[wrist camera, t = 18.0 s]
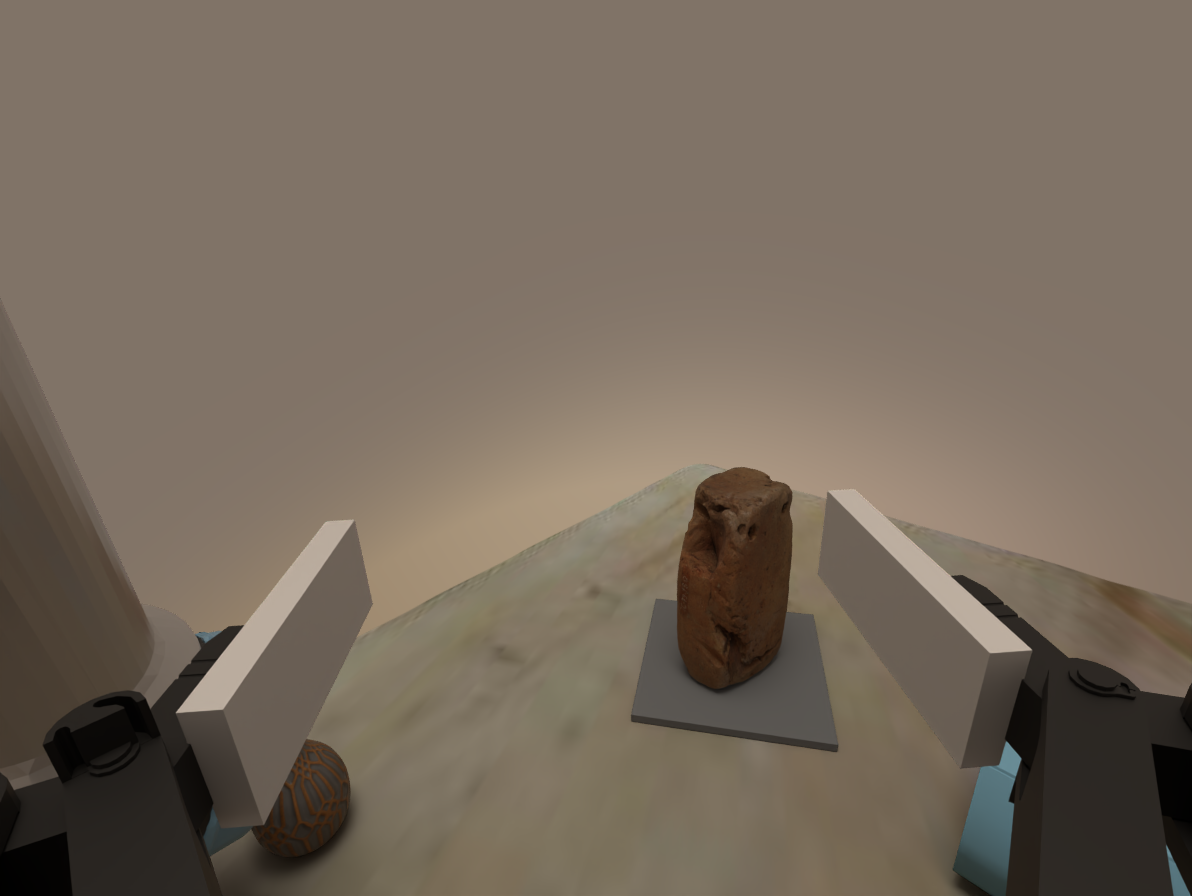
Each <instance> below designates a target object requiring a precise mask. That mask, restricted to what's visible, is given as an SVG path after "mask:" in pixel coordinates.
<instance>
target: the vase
mask: <svg viewBox="0 0 1192 896" xmlns="http://www.w3.org/2000/svg"><path fill="white" fill-rule="evenodd" d="M349 801H350V781H349V776H348V772H347V769H346V766H345V764H344V762H343V761H342V759H341V758H340V756H339V755H338V754H337V753H336V752H335V751H334V750H333V749H332V748H331V747H329V746H328V745H326V744H324V743H321V742H318V741H314V740H309V739H306V740H305V742H304V745H303V747H302V749H301V751H300V753H299V755H298V757H297V759H296V761H295V763H294V765H293V767H292V769H291V771H290V773H289V775H288V777H287V779H286V781H285V783H284V785H283V787H282V789H281V791H280V793H279V795H278V797H277V799H276V801H275V803H274V805H273V807H272V809H271V812H270V814H269V816H268V818H267V820H266V822H265V824H264V825H258V826H253V827H252V832H253V834H254V835H255V837H256V839H257V840H258V842H259V843H260V844H261V845H262V846H263V847H264V848H265V849H267V850H268V851H270V852H271V853H274V854H276V855H278V856H283V857H296V856H301V855H305V854H308V853H310V852H312V851H314V850H316V849H318V848H319V847H321V846H322V845H324V844H325V843H326V842H327V841H328V840H329V839H330V838H331V837H332V836H333V835H334V834H335V833H336V831H337V830H338V829H339V827H340V826H341V824H342V822H343V820H344V818H345V816H346V813H347V810H348V806H349Z"/></svg>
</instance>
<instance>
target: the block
mask: <svg viewBox="0 0 1192 896" xmlns="http://www.w3.org/2000/svg"><path fill="white" fill-rule="evenodd" d="M791 502H792V491H791V489H790V487H789V486H788V485H786V484H784V483H781V482H777V481H776V482H775V481H772V480H771V479H770V477H769V476H768V475H767V474H765V473H763V472H761V471H758V470H755V469H750V468H745V467H740V468H739V467H738V468H733V469H730V470H727V471H725V472H723V473H719V474H715V475H712V476H710V477H709V478H707V479H706V480H704V481H703V482H702V483H701V484H700V485H699V486H698V488H697V490H696V494H695V500H694V510H693V517H692V519H691V521H690V522H689V524H688V531H687V532H686V533H685V538H684V542H683V547H682V551H681V556H680V562H679V570H678V580H677V639H678V647H679V651H680V654H681V657H682V659H683V661H684V663H685V665H686V667H687V670H688V672H689V674H690V676H692V677H693V678H694V679H695V680H697V681H698V682H700V683H702V684H704V685H706V686H708V687H710V688H714V689H719V688H724V687H726V686H728V685H732V684H735V683H738V682H743V681H745V680H747V679H748V678H750V677H751V676H753V675H754V674H756V673H757V672H759V671H761V670H762V669H763V668H764V667H766V666H767V665H768V664H769V663H770V661H771V660H772V659H773V658H774V656H775V655H776V654H777V652H778V651H779V649H780V646H781V642H782V636H783V630H784V624H785V618H786V612H787V602H788V593H789V577H790V568H791V557H792V520H791V517H790V512H789V511H790V505H791Z"/></svg>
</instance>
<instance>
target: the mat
mask: <svg viewBox="0 0 1192 896" xmlns="http://www.w3.org/2000/svg"><path fill="white" fill-rule="evenodd" d="M631 721H633V722H640V723H647V724H653V725H660V726H667V727H674V728H680V729H687V730H694V731H700V732H707V733H714V734H721V735H727V736H734V737H741V738H747V739H754V740H761V741H768V742H774V743H781V744H788V745H794V746H801V747H808V748H815V749H821V750H828V751H835V752H837V749H838V742H837V736H836V731H835V726H834V721H833V715H832V710H831V705H830V700H829V694H828V689H827V684H826V679H825V674H824V668H823V663H822V658H821V653H820V647H819V642H818V637H817V632H816V626H815V621H814V616H813V615H811V614H801V613H791V612H786V618H785V624H784V630H783V636H782V642H781V646H780V649H779V651H778V652H777V654H776V655H775V656H774V658H773V659H772V660H771V661H770V663H769V664H768V665H767V666H766V667H764V668H763V669H762V670H761V671H759V672H757V673H756V674H754V675H753V676H751V677H750V678H748V679H747V680H745V681H743V682H738V683H735V684H732V685H728V686H726V687H724V688H719V689H714V688H710V687H708V686H706V685H704V684H702V683H700V682H698V681H697V680H695V679H694V678H693V677H692V676H690V674H689V672H688V670H687V667H686V665H685V663H684V661H683V659H682V657H681V654H680V651H679V647H678V639H677V601H673V600H663V599H656V600H655V605H654V610H653V615H652V619H651V624H650V629H649V633H648V638H647V643H646V648H645V652H644V657H643V662H642V666H641V671H640V676H639V681H638V685H637V690H636V695H635V700H634V704H633V709H632V714H631Z"/></svg>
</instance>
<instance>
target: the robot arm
mask: <svg viewBox="0 0 1192 896" xmlns="http://www.w3.org/2000/svg"><path fill="white" fill-rule="evenodd" d="M818 575H819V576H820V578H821V579H822V581H823V582H824V583H825V585H826V586H827V587H828V589H829V590H830V591H831V593H832V594H833V596H834V597H835V598H836V600H837V601H838V602H839V604H840V605H841V606H842V608H843V609H844V611H845V612H846V613H847V615H848V616H849V617H850V619H851V620H852V621H853V623H854V624H855V626H856V627H857V628H858V630H859V631H860V632H861V634H862V635H863V636H864V638H865V639H866V640H867V642H868V643H869V645H870V646H871V647H872V649H873V650H874V651H875V653H876V654H877V655H878V657H879V658H880V660H881V661H882V662H883V664H884V665H885V666H886V668H887V669H888V670H889V672H890V673H891V675H892V676H893V677H894V679H895V680H896V681H897V683H898V684H899V685H900V687H901V688H902V690H903V691H904V692H905V694H906V695H907V696H908V698H909V699H910V700H911V702H912V703H913V705H914V706H915V707H916V709H917V710H918V711H919V713H920V714H921V715H922V717H923V718H924V719H925V721H926V722H927V724H928V725H929V726H930V728H931V729H932V730H933V732H934V733H935V734H936V736H937V737H938V739H939V740H940V741H941V743H942V744H943V745H944V747H945V748H946V749H947V751H948V752H949V754H950V755H951V756H952V758H953V759H954V760H955V762H956V763H957V764H958V766H959V767H960V769H961V768H973V767H985V766H998V765H999V764H1000V761H1001V757H1002V754H1003V750H1004V747H1005V743H1006V741H1007V742H1008V743H1009V745H1010V746H1011V747H1012V748H1013V749H1014V750H1015V752H1016V753H1017V754H1018V755H1019V756H1020V757H1021V761H1020V765H1019V768H1018V771H1017V775H1016V778H1015V781H1014V784H1013V788H1012V791H1011V794H1010V797H1009V801H1008V802H1011V803H1013V804H1014V812H1013V822H1012V833H1011V844H1010V854H1009V865H1008V876H1007V886H1006V896H1174V895H1173V888H1172V881H1171V874H1170V868H1169V861H1168V854H1167V848H1166V845H1167V847H1168V849H1169V851H1170V853H1171V856H1172V858H1173V860H1174V862H1175V864H1176V866H1177V868H1178V870H1179V872H1180V875H1181V877H1182V879H1183V881H1184V883H1185V885H1186V887H1187V889H1188V891H1189V893H1190V896H1192V684H1191V685H1190V687H1189V689H1188V691H1187V694H1186V696H1185V698H1182V697H1176V696H1169V695H1163V694H1156V693H1150V692H1143V691H1140V689H1139V688H1138V687H1136V686H1135V685H1134V684H1133V683H1132V682H1131V681H1130V680H1129V679H1128V678H1126V677H1124V676H1123V675H1121V674H1119V673H1118V672H1116V671H1114V670H1113V669H1111V668H1108V667H1106V666H1103V665H1101V664H1098V663H1096V662H1092V661H1088V660H1083V659H1079V658H1068V657H1067V656H1066V655H1064V654H1063V653H1062V652H1061V651H1060V650H1059V649H1057V648H1056V647H1055V646H1054V645H1053V644H1052V643H1050V642H1049V641H1048V640H1047V639H1046V638H1045V637H1043V636H1042V635H1041V634H1040V633H1039V632H1038V631H1036V630H1035V629H1034V628H1033V627H1032V626H1031V625H1029V624H1028V623H1027V622H1026V621H1025V620H1024V619H1022V618H1018V614H1017V613H1015V612H1014V611H1013V610H1012V609H1011V608H1010V607H1008V606H1007V605H1004V604H1003V601H1001V600H1000V599H999V598H998V597H997V596H996V595H994V594H993V593H992V592H991V591H990V590H988V589H987V588H986V587H984V586H982V585H980V584H978V583H977V582H975V581H973V580H971V579H969V578H967V577H965V576H963V575H958V576H950V575H949V574H948V573H947V572H945V571H944V570H943V569H942V568H941V567H940V566H939V565H938V564H937V563H935V562H934V561H933V560H932V559H931V558H930V557H929V556H928V555H927V554H926V553H924V552H923V551H922V550H921V549H920V548H919V547H918V546H917V545H916V544H914V543H913V542H912V541H911V540H910V539H909V538H908V537H907V536H906V535H905V534H903V533H902V532H901V531H900V530H899V529H898V528H897V527H896V526H895V525H893V524H892V523H891V522H890V521H889V520H888V519H887V518H886V517H885V516H884V515H882V514H881V513H880V512H879V511H878V510H877V509H876V508H875V507H874V506H872V505H871V504H870V503H869V502H868V501H867V500H866V499H865V498H864V497H862V496H861V495H860V494H859V493H858V492H857V491H856V490H855V489H848V490H832V491H828V492H827V500H826V509H825V517H824V526H823V535H822V543H821V552H820V560H819V569H818ZM372 604H373V603H372V599H371V594H370V590H369V585H368V580H367V575H366V571H365V566H364V561H363V556H362V552H361V547H360V542H359V538H358V534H357V529H356V524H355V520H342V521H326V522H325V523H324V525H323V526H322V527H321V529H320V530H319V531H318V532H317V534H316V535H315V536H314V537H313V539H312V540H311V541H310V543H309V544H308V545H307V546H306V548H305V549H304V550H303V551H302V553H301V554H300V555H299V557H298V558H297V559H296V560H295V562H294V563H293V564H292V565H291V567H290V568H289V569H288V571H287V572H286V573H285V574H284V576H283V577H282V578H281V580H280V581H279V582H278V583H277V585H276V586H275V587H274V588H273V590H272V591H271V592H270V593H269V595H268V596H267V597H266V599H265V600H264V602H262V604H261V605H260V606H259V607H258V609H257V610H256V611H255V613H254V614H253V615H252V617H251V618H250V619H249V620H248V622H247V623H246V624H245V625H242V626H229V627H227V628H226V629H224V630H223V631H216V632H211V633H206V632H199V633H198V634H194V632H193V631H192V630H191V628H190V627H189V625H188V624H187V623H186V622H185V621H184V620H183V619H181V618H180V617H179V616H177V615H176V614H174V613H171V612H169V611H167V610H165V609H162V608H159V607H155V606H151V605H146V604H140V601H139V599H138V597H137V595H136V593H135V590H134V588H133V586H132V584H131V582H130V580H129V577H128V575H127V573H126V571H125V569H124V567H123V565H122V562H121V560H120V558H119V556H118V553H117V551H116V549H115V547H114V545H113V543H112V541H111V538H110V536H109V534H108V532H107V530H106V528H105V525H104V523H103V521H102V519H101V516H100V514H99V512H98V510H97V508H96V506H95V503H94V501H93V499H92V497H91V495H90V493H89V490H88V488H87V486H86V484H85V482H84V480H83V477H82V475H81V473H80V471H79V469H78V466H77V464H76V462H75V460H74V458H73V456H72V454H71V451H70V449H69V447H68V445H67V442H66V440H65V439H64V436H63V434H62V432H61V429H60V427H59V425H58V423H57V421H56V419H55V416H54V414H53V412H52V410H51V408H50V406H49V403H48V401H47V399H46V397H45V395H44V393H43V390H42V388H41V386H40V384H39V382H38V379H37V377H36V375H35V373H34V371H33V369H32V366H31V364H30V362H29V360H28V358H27V355H26V353H25V351H24V349H23V347H22V345H21V342H20V340H19V338H18V336H17V334H16V332H15V329H14V327H13V325H12V323H11V321H10V318H9V317H8V314H7V312H6V310H5V308H4V305H3V303H2V301H1V299H0V896H222V893H221V890H220V887H219V884H218V881H217V878H216V875H215V872H214V868H213V865H212V862H211V859H210V856H211V855H213V854H215V853H216V852H218V851H220V850H221V849H223V848H225V847H226V846H228V845H230V844H231V843H233V842H235V841H236V840H238V839H240V838H241V837H243V836H244V835H245V834H246V833H248V832H249V831H250V830H251V829H252V827H253V826H258V825H264V824H265V822H266V820H267V818H268V816H269V814H270V812H271V809H272V807H273V805H274V803H275V801H276V799H277V797H278V795H279V793H280V791H281V789H282V787H283V785H284V783H285V781H286V779H287V777H288V775H289V773H290V771H291V769H292V767H293V765H294V763H295V761H296V759H297V757H298V755H299V753H300V751H301V749H302V747H303V745H304V742H305V740H306V738H307V736H308V734H309V732H310V730H311V728H312V726H313V724H314V722H315V720H316V718H317V716H318V714H319V712H320V710H321V708H322V706H323V704H324V702H325V700H326V698H327V696H328V694H329V692H330V690H331V688H332V686H333V684H334V682H335V680H336V678H337V675H338V673H339V671H340V669H341V667H342V665H343V663H344V661H345V659H346V657H347V655H348V653H349V651H350V649H351V647H352V645H353V643H354V641H355V639H356V637H357V635H358V633H359V631H360V629H361V627H362V624H363V622H364V621H365V619H366V617H367V614H368V613H369V610H370V608H371V606H372Z"/></svg>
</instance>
